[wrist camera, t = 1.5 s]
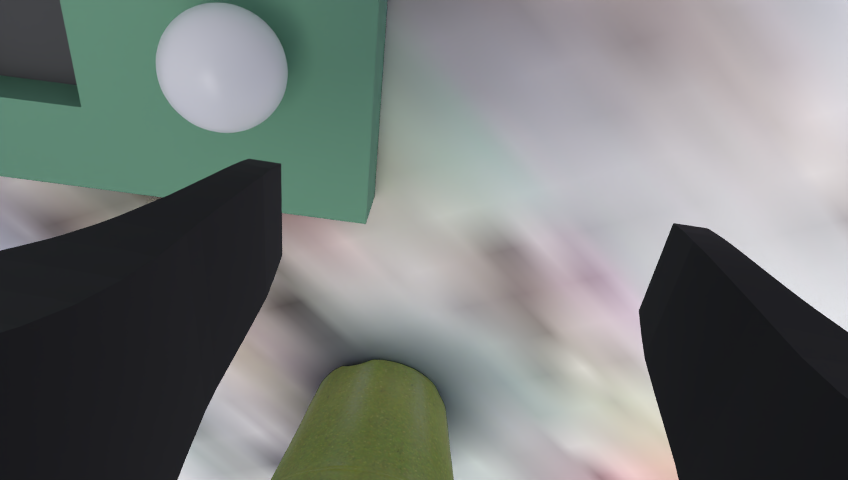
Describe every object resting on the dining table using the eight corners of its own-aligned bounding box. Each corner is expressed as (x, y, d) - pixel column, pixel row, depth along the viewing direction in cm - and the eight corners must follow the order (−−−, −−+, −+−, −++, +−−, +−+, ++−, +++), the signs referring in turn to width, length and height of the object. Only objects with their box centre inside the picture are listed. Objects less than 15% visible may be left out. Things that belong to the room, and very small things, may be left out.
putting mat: (-146, 128, 24) (-194, 150, 22) (-294, -229, 18) (-376, -237, 16) (374, 196, 24) (365, 223, 22) (397, -146, 18) (387, -145, 16)
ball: (192, 100, 20) (141, 144, 17) (180, -17, 18) (121, 10, 15) (301, 113, 20) (269, 160, 17) (301, -2, 18) (264, 28, 15)
